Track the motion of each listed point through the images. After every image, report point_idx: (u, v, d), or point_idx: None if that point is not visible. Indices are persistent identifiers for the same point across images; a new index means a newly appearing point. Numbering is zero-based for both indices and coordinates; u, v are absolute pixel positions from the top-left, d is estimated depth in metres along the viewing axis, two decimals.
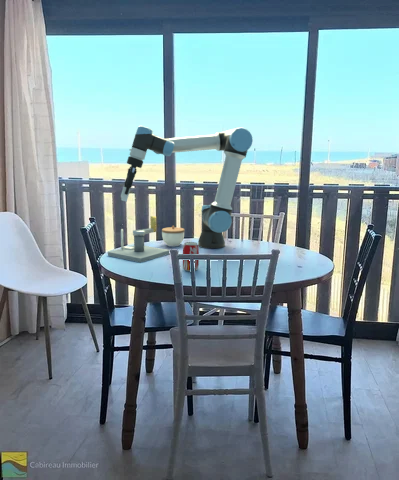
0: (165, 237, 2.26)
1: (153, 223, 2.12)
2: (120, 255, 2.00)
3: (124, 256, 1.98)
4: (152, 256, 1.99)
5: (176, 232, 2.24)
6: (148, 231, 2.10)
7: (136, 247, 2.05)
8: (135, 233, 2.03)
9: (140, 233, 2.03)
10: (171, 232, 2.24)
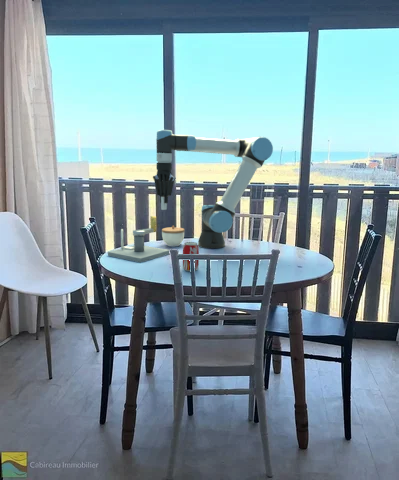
0: (165, 237, 2.26)
1: (153, 223, 2.12)
2: (120, 255, 2.00)
3: (124, 256, 1.98)
4: (152, 256, 1.99)
5: (176, 232, 2.24)
6: (148, 231, 2.10)
7: (136, 247, 2.05)
8: (135, 233, 2.03)
9: (140, 233, 2.03)
10: (171, 232, 2.24)
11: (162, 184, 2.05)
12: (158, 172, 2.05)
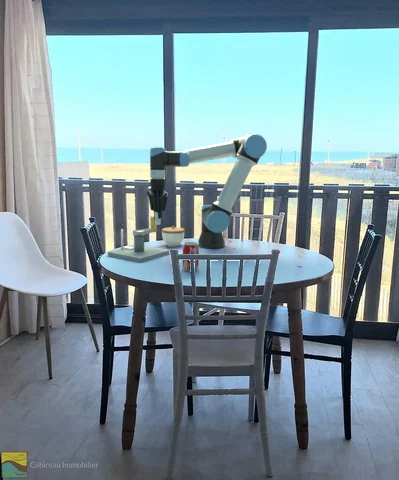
0: (165, 237, 2.26)
1: (153, 223, 2.12)
2: (120, 255, 2.00)
3: (124, 256, 1.98)
4: (152, 256, 1.99)
5: (176, 232, 2.24)
6: (148, 231, 2.10)
7: (136, 247, 2.05)
8: (135, 233, 2.03)
9: (140, 233, 2.03)
10: (171, 232, 2.24)
11: (156, 200, 2.09)
12: (152, 188, 2.08)
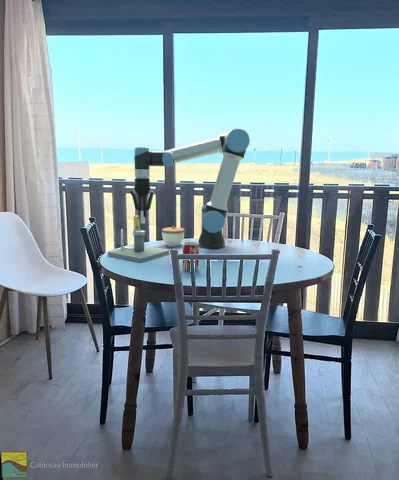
0: (165, 237, 2.26)
1: (138, 222, 2.14)
2: (120, 255, 2.00)
3: (124, 256, 1.98)
4: (152, 256, 1.99)
5: (176, 232, 2.24)
6: None
7: (136, 247, 2.05)
8: (140, 233, 2.03)
9: (144, 232, 2.04)
10: (171, 232, 2.24)
11: (141, 199, 2.12)
12: (136, 187, 2.11)
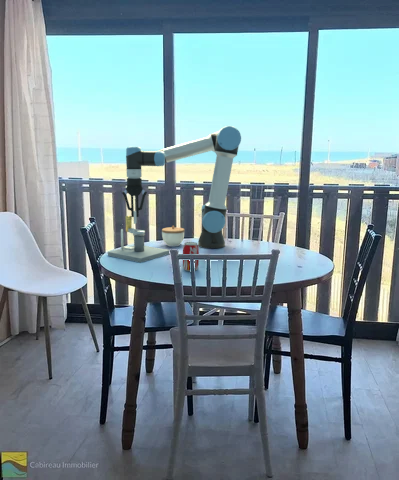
0: (165, 237, 2.26)
1: (131, 222, 2.13)
2: (120, 255, 2.00)
3: (124, 256, 1.98)
4: (152, 256, 1.99)
5: (176, 232, 2.24)
6: None
7: (136, 247, 2.05)
8: (142, 233, 2.03)
9: (144, 232, 2.05)
10: (171, 232, 2.24)
11: None
12: (129, 187, 2.09)
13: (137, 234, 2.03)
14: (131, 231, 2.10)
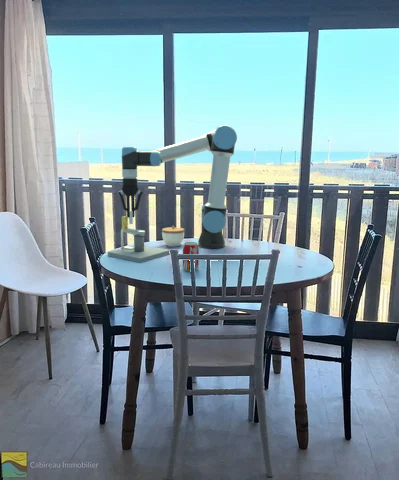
0: (165, 237, 2.26)
1: (127, 222, 2.12)
2: (120, 255, 2.00)
3: (124, 256, 1.98)
4: (152, 256, 1.99)
5: (176, 232, 2.24)
6: None
7: (136, 247, 2.05)
8: (143, 233, 2.04)
9: (144, 232, 2.06)
10: (171, 232, 2.24)
11: None
12: (125, 188, 2.08)
13: (138, 234, 2.03)
14: (129, 231, 2.09)
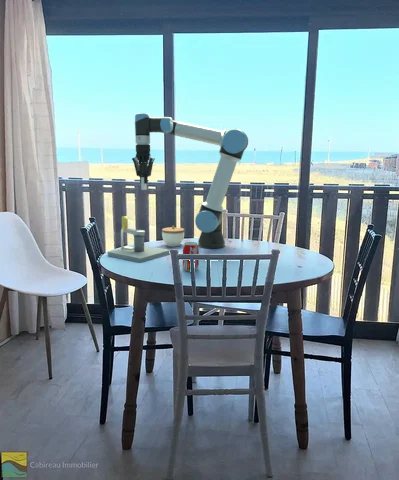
0: (165, 237, 2.26)
1: (127, 222, 2.12)
2: (120, 255, 2.00)
3: (124, 256, 1.98)
4: (152, 256, 1.99)
5: (176, 232, 2.24)
6: None
7: (136, 247, 2.05)
8: (143, 233, 2.04)
9: (144, 232, 2.06)
10: (171, 232, 2.24)
11: (141, 165, 2.16)
12: (137, 154, 2.15)
13: (138, 234, 2.03)
14: (129, 231, 2.09)
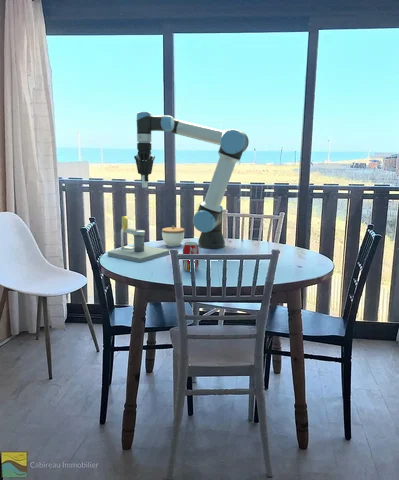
0: (165, 237, 2.26)
1: (127, 222, 2.12)
2: (120, 255, 2.00)
3: (124, 256, 1.98)
4: (152, 256, 1.99)
5: (176, 232, 2.24)
6: None
7: (136, 247, 2.05)
8: (143, 233, 2.04)
9: (144, 232, 2.06)
10: (171, 232, 2.24)
11: (143, 163, 2.18)
12: (139, 152, 2.18)
13: (138, 234, 2.03)
14: (129, 231, 2.09)
